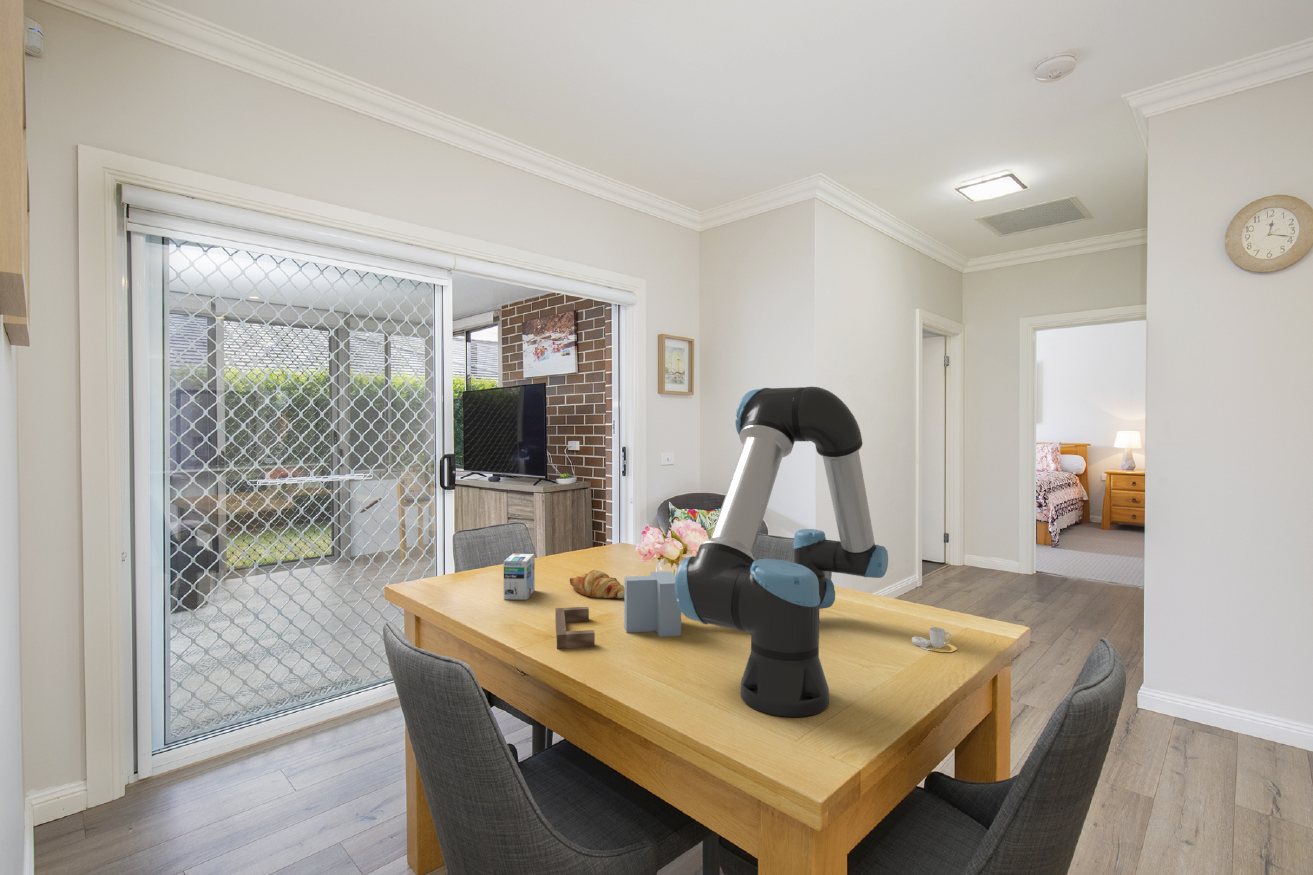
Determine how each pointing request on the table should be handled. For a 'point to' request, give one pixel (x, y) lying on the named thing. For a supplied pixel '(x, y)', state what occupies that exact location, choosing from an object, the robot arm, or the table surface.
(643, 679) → the table surface
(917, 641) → the teacup and saucer
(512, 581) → the light bulb box
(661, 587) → the t block
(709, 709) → the table surface
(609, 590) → the croissant
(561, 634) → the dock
